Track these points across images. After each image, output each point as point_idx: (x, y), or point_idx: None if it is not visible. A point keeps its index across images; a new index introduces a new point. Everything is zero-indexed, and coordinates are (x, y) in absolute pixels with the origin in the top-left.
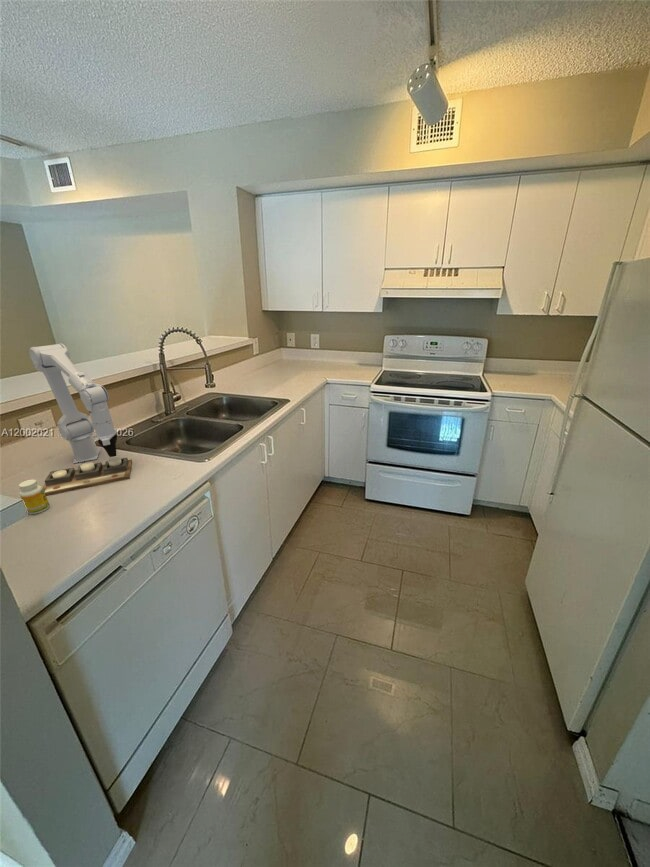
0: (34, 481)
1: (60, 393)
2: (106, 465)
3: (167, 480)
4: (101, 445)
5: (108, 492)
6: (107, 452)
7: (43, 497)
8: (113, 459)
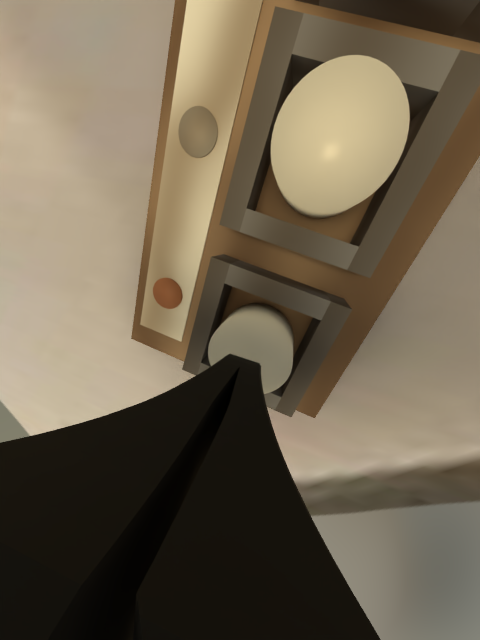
0: None
1: None
2: (271, 293)
3: (65, 407)
4: (36, 437)
5: (68, 229)
6: (197, 376)
7: None
8: (257, 356)
